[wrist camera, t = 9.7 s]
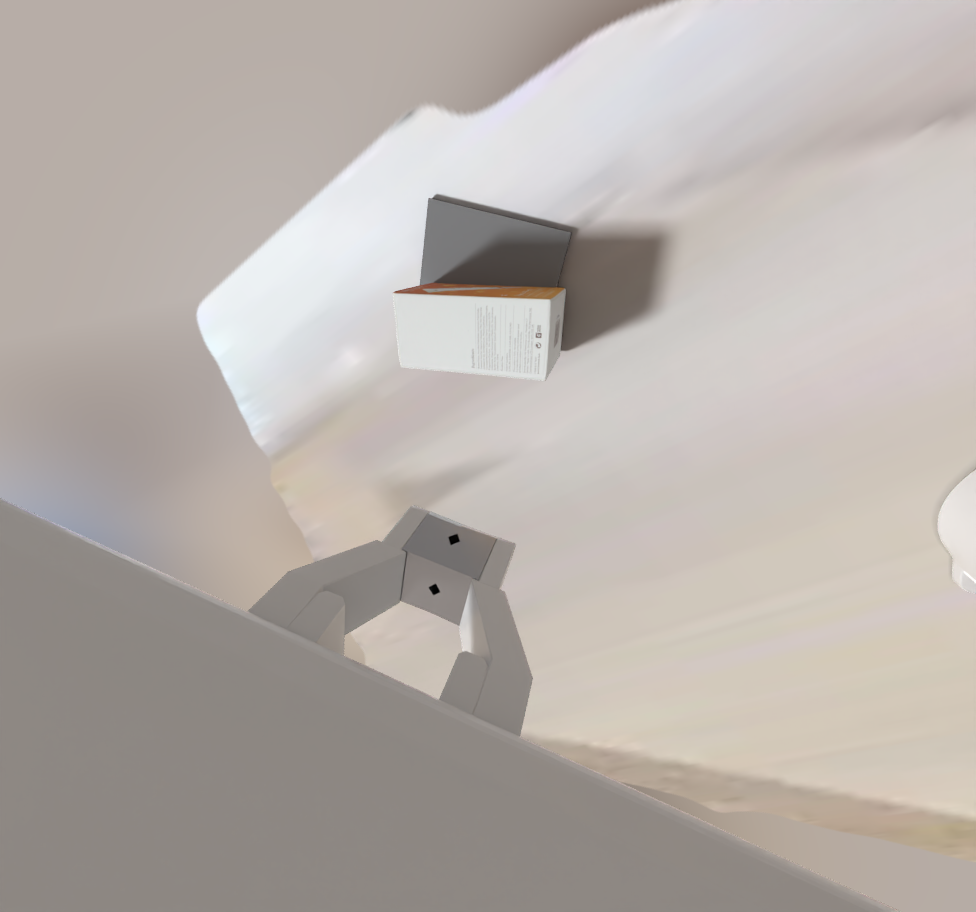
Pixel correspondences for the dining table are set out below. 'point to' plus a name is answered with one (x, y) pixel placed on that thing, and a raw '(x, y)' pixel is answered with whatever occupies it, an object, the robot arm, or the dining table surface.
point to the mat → (489, 249)
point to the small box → (480, 329)
